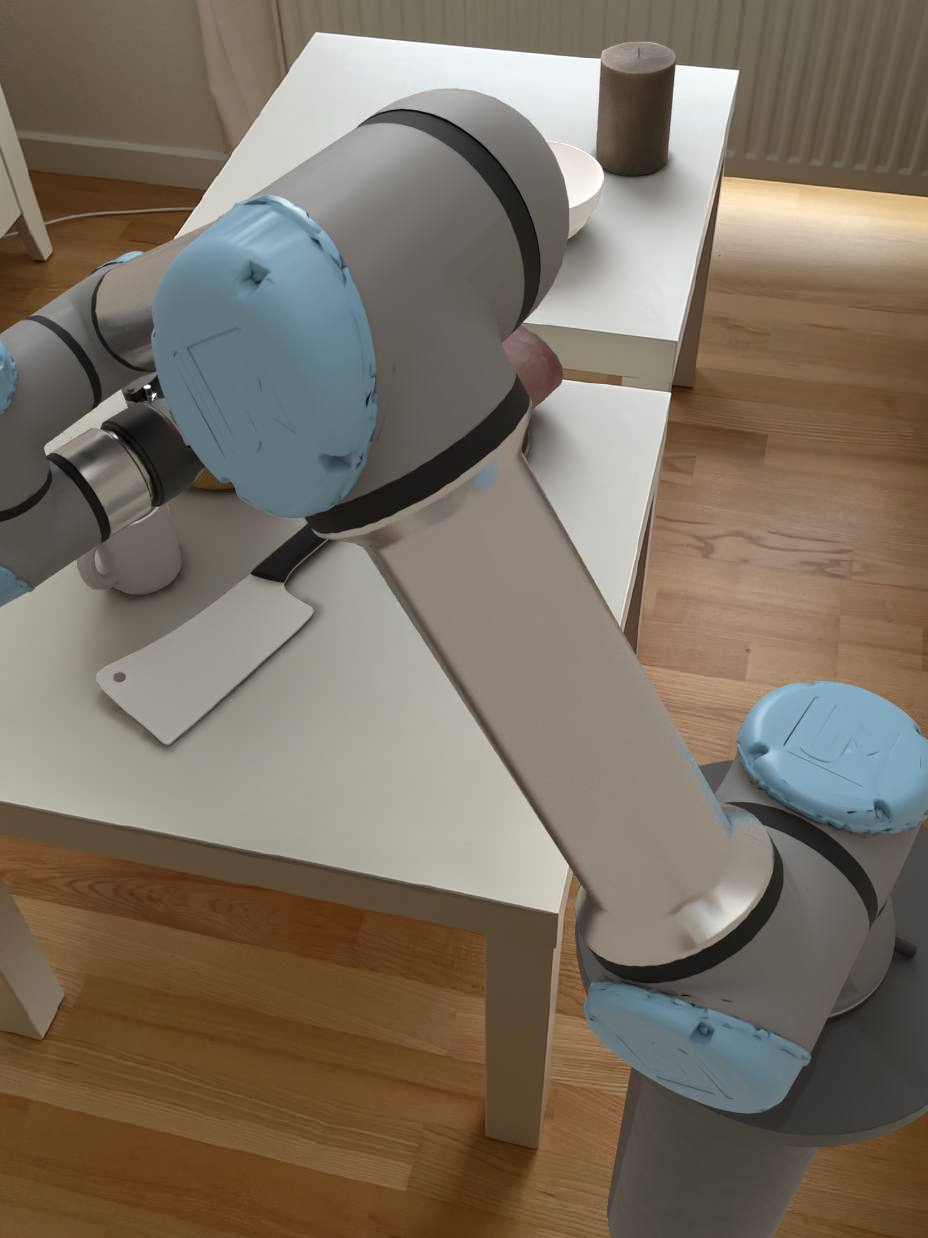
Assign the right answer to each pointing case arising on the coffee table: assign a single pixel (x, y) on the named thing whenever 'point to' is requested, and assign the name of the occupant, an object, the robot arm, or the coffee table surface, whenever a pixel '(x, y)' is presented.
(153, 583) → the cup
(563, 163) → the bowl
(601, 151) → the pillar candle
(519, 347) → the food
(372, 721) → the coffee table surface
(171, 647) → the kitchen cleaver
